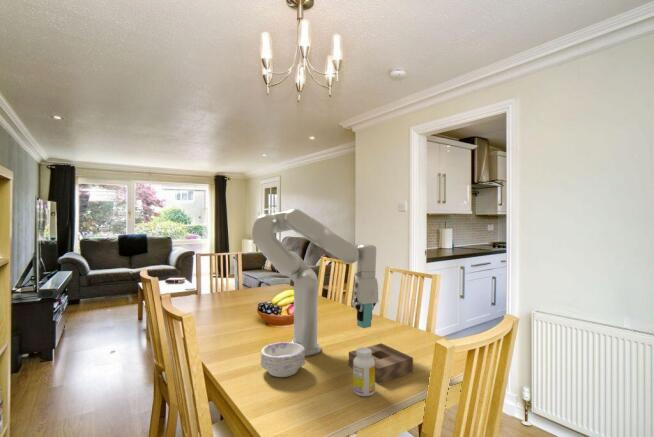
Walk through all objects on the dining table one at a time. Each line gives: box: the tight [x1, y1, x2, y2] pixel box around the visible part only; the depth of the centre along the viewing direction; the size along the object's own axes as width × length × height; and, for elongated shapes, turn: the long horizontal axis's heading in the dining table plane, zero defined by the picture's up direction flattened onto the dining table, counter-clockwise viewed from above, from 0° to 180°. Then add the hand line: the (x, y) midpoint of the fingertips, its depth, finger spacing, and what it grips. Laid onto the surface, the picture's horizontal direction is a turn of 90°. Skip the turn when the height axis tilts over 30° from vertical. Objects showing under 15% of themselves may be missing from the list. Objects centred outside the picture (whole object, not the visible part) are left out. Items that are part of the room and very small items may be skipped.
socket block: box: [348, 342, 414, 385], centre depth 118 cm, size 16×16×5 cm
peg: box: [356, 303, 373, 329], centre depth 135 cm, size 4×4×10 cm
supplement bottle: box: [352, 347, 376, 397], centre depth 102 cm, size 7×7×13 cm
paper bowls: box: [260, 341, 306, 378], centre depth 116 cm, size 15×15×8 cm
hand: (364, 319), depth 135 cm, fingers closed on peg, 4 cm apart
